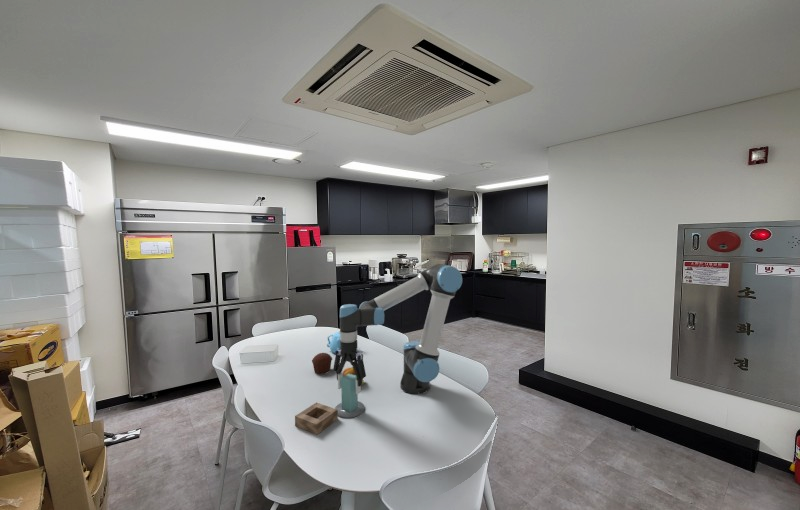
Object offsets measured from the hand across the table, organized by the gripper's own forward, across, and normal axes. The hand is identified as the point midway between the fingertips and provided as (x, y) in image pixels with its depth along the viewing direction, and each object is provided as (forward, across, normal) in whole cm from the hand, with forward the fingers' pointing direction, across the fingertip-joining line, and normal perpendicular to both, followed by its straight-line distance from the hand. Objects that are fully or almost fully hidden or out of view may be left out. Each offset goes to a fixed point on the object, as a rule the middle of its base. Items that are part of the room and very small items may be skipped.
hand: (349, 390), depth 135 cm
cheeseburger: (+9, +14, -20) cm, 26 cm away
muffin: (+9, +40, -25) cm, 48 cm away
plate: (+9, 0, 0) cm, 9 cm away
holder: (+9, +6, +14) cm, 18 cm away
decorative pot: (+9, +52, -56) cm, 77 cm away
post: (+8, 0, 0) cm, 8 cm away
